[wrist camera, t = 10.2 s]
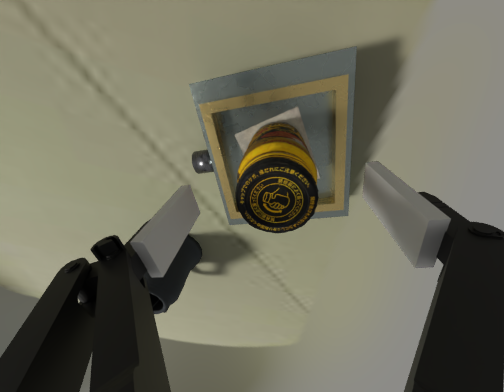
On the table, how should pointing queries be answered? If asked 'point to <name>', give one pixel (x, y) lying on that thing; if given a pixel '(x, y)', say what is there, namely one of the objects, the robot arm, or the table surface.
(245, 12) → the table surface
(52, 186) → the table surface
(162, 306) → the mug
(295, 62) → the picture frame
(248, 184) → the condiment
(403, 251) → the robot arm
